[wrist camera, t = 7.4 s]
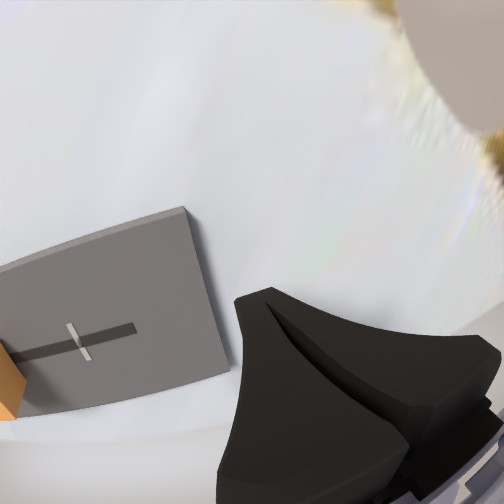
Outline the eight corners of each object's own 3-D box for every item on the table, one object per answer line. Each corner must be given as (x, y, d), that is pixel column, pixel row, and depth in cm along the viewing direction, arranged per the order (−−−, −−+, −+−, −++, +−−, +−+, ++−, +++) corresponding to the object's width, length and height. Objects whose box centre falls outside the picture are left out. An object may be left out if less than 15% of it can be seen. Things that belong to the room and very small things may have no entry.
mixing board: (225, 358, 22) (231, 371, 21) (-10, 409, 17) (-13, 420, 16) (182, 205, 17) (185, 212, 16) (-80, 301, 12) (-89, 311, 11)
